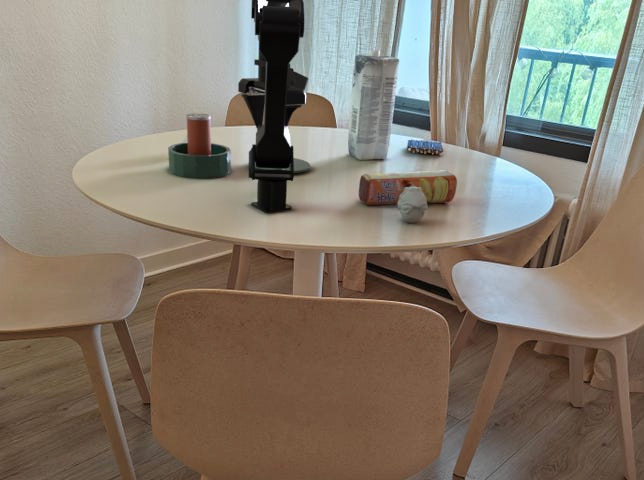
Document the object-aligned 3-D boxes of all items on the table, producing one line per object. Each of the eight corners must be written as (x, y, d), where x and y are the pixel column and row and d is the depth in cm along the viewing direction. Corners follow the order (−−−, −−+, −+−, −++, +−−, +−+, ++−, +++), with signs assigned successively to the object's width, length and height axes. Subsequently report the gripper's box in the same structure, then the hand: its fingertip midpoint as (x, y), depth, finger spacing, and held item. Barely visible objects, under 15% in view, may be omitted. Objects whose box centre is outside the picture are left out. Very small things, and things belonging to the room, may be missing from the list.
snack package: (366, 208, 139) (369, 176, 135) (355, 199, 144) (358, 168, 141) (455, 205, 144) (460, 174, 141) (442, 196, 149) (446, 167, 146)
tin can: (211, 172, 156) (210, 118, 149) (187, 171, 155) (185, 117, 149) (212, 166, 161) (211, 113, 154) (189, 165, 160) (187, 112, 154)
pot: (241, 174, 157) (241, 153, 154) (185, 181, 149) (184, 158, 147) (212, 161, 167) (212, 140, 164) (159, 166, 159) (158, 144, 157)
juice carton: (391, 159, 179) (404, 53, 166) (357, 161, 176) (367, 52, 162) (376, 152, 186) (387, 49, 173) (343, 153, 183) (352, 48, 169)
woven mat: (443, 155, 186) (444, 148, 185) (406, 152, 188) (407, 145, 187) (442, 148, 195) (443, 141, 194) (407, 145, 197) (407, 138, 196)
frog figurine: (419, 216, 135) (424, 183, 132) (429, 227, 129) (435, 192, 126) (391, 216, 134) (395, 182, 131) (400, 227, 128) (405, 192, 125)
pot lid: (322, 172, 163) (324, 147, 160) (269, 178, 155) (270, 152, 152) (288, 158, 174) (289, 134, 171) (237, 163, 166) (237, 139, 163)
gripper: (329, 60, 133) (323, 138, 141) (280, 50, 146) (277, 122, 154) (284, 60, 127) (281, 142, 135) (237, 50, 140) (237, 125, 148)
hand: (270, 132), depth 143 cm, fingers open, 9 cm apart
